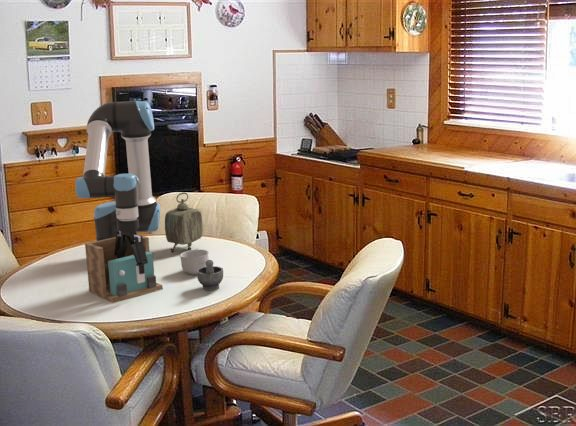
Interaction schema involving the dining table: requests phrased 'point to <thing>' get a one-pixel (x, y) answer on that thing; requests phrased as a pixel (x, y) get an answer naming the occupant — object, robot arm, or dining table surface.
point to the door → (128, 273)
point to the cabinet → (99, 270)
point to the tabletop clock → (183, 224)
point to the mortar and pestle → (210, 276)
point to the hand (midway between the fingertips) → (132, 278)
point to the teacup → (193, 260)
